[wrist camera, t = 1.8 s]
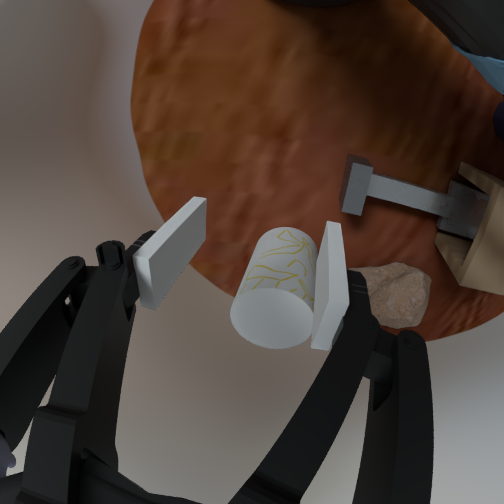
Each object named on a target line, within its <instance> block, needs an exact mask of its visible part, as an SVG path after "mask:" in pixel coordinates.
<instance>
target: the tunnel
mask: <svg viewBox="0 0 504 504" xmlns="http://www.w3.org/2000/svg"><path fill="white" fill-rule="evenodd" d="M458 173H459V174H460V175H462V176H463V177H465V178H466V179H467V180H469V181H470V182H472V183H473V184H474V185H476V186H477V187H478V188H480V189H481V190H482V191H484V192H485V193H486V194H488V195H489V196H490V200H489V203H488V206H487V208H486V211H485V214H484V216H483V219H482V222H481V224H480V227H479V229H478V232H477V234H476V236H475V239H474V241H473V242H470V241H467V240H464V239H461V238H457V237H454V236H451V235H447V234H444V233H441V232H438V233H437V235H436V238H435V240H434V243H435V245H436V246H437V248H438V249H439V251H440V253H441V254H442V256H443V258H444V259H445V261H446V263H447V264H448V266H449V268H450V270H451V271H452V273H453V275H454V277H455V278H456V280H457V282H458V284H459V285H460V286H464V287H469V288H473V289H478V290H482V291H486V292H491V293H495V294H500V295H504V181H503V180H501V179H499V178H497V177H495V176H493V175H491V174H488V173H486V172H484V171H482V170H480V169H478V168H475V167H473V166H471V165H469V164H466V163H464V162H462V161H461V163H460V167H459V171H458Z"/></svg>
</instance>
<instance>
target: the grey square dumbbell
mask: <svg viewBox="0 0 504 504" xmlns="http://www.w3.org/2000/svg"><path fill="white" fill-rule="evenodd" d="M366 195H368V196H372V197H376V198H380V199H384V200H388V201H391V202H395V203H399V204H403V205H406V206H410V207H413V208H417V209H420V210H423V211H427V212H430V213H433V214H437V215H439V218H438V221H437V223H436V226H437V227H438V228H439V229H442V230H445V231H448V232H452V233H455V234H458V235H461V236H464V237H467V238H471V239H475V236H476V234H477V232H478V229H479V227H480V224H481V222H482V219H483V216H484V214H485V211H486V208H487V206H488V203H489V200H490V196H489V195H488V194H486V193H483V192H481V191H479V190H476V189H474V188H471V187H469V186H466V185H464V184H461V183H459V182H456V181H454V180H451V182H450V185H449V188H448V192H447V194H444V193H442V192H439V191H436V190H433V189H430V188H427V187H423V186H420V185H417V184H414V183H411V182H407V181H404V180H400V179H397V178H394V177H390V176H386V175H383V174H379V173H375V172H373V166H372V165H371V164H370V162H369V161H368V160H367V159H366V158H362V157H358V156H354V155H350V154H348V159H347V164H346V168H345V173H344V178H343V182H342V186H341V191H340V195H339V200H340V206H341V211H342V212H347V213H351V214H355V215H360V216H361V214H362V210H363V206H364V203H365V199H366Z"/></svg>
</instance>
